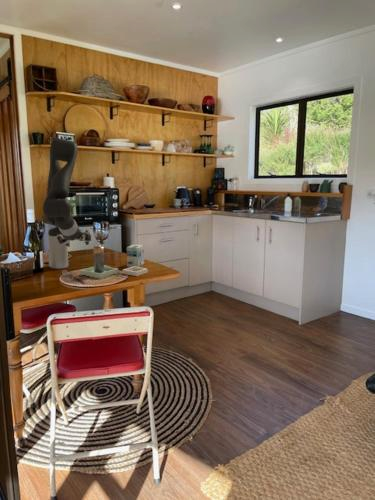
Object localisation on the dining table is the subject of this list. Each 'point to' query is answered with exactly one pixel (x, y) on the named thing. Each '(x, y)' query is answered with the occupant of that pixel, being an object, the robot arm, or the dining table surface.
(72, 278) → the dining table surface
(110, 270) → the sage tray
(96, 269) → the battery cell
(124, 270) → the checker socket
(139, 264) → the light bulb box
